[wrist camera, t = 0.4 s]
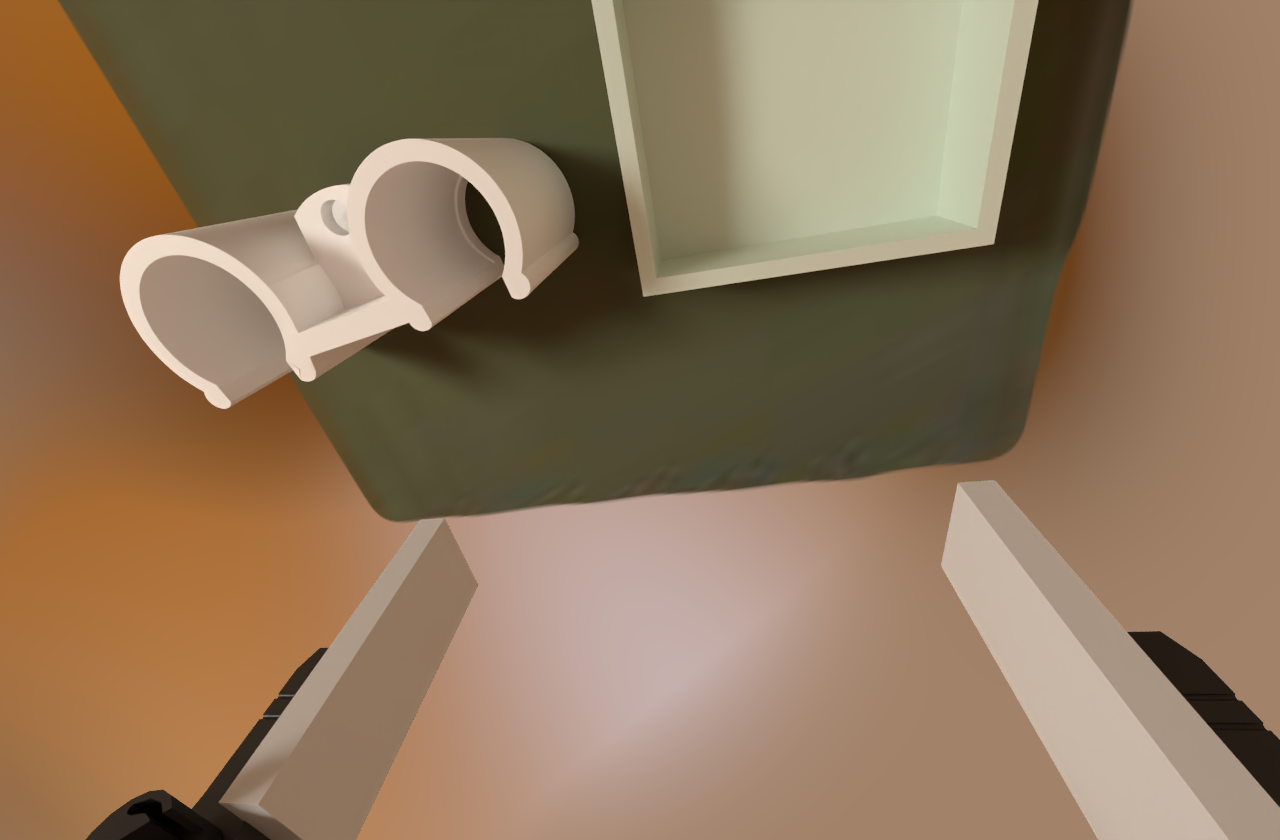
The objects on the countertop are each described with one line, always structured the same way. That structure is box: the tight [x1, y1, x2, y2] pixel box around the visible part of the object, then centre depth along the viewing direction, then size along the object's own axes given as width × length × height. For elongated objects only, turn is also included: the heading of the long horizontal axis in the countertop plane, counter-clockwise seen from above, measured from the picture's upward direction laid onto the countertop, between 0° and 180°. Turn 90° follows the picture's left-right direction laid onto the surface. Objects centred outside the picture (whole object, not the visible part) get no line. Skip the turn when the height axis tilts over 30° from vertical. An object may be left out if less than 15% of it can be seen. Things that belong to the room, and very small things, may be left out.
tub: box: [592, 0, 1038, 297], centre depth 26 cm, size 18×20×6 cm
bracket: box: [120, 138, 579, 409], centre depth 31 cm, size 25×10×12 cm, turn 109°
